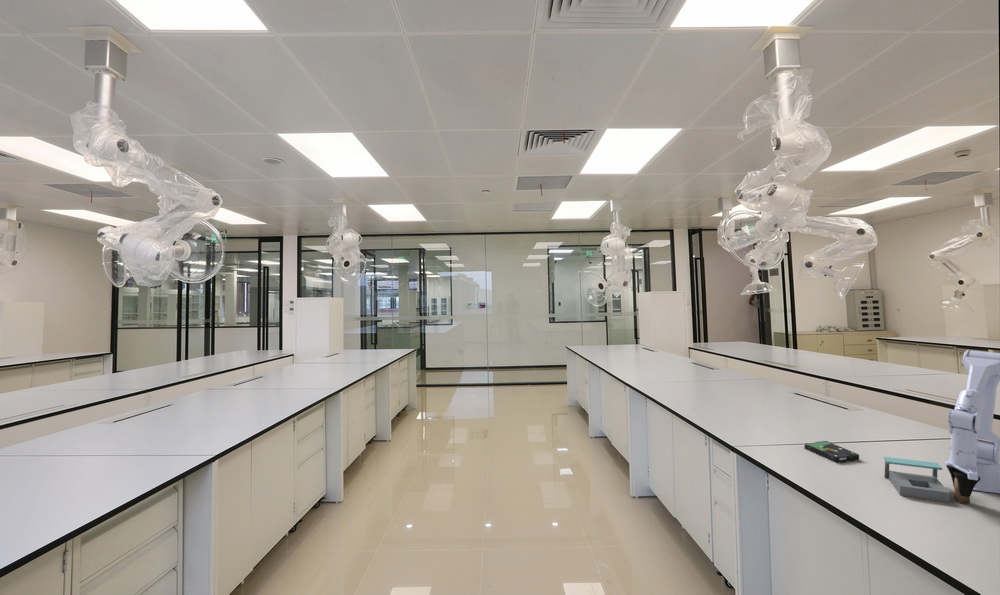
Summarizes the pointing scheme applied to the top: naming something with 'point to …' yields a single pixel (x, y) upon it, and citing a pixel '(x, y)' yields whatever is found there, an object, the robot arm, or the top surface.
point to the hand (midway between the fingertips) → (962, 493)
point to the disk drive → (832, 451)
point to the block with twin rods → (911, 463)
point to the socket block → (919, 486)
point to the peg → (957, 495)
